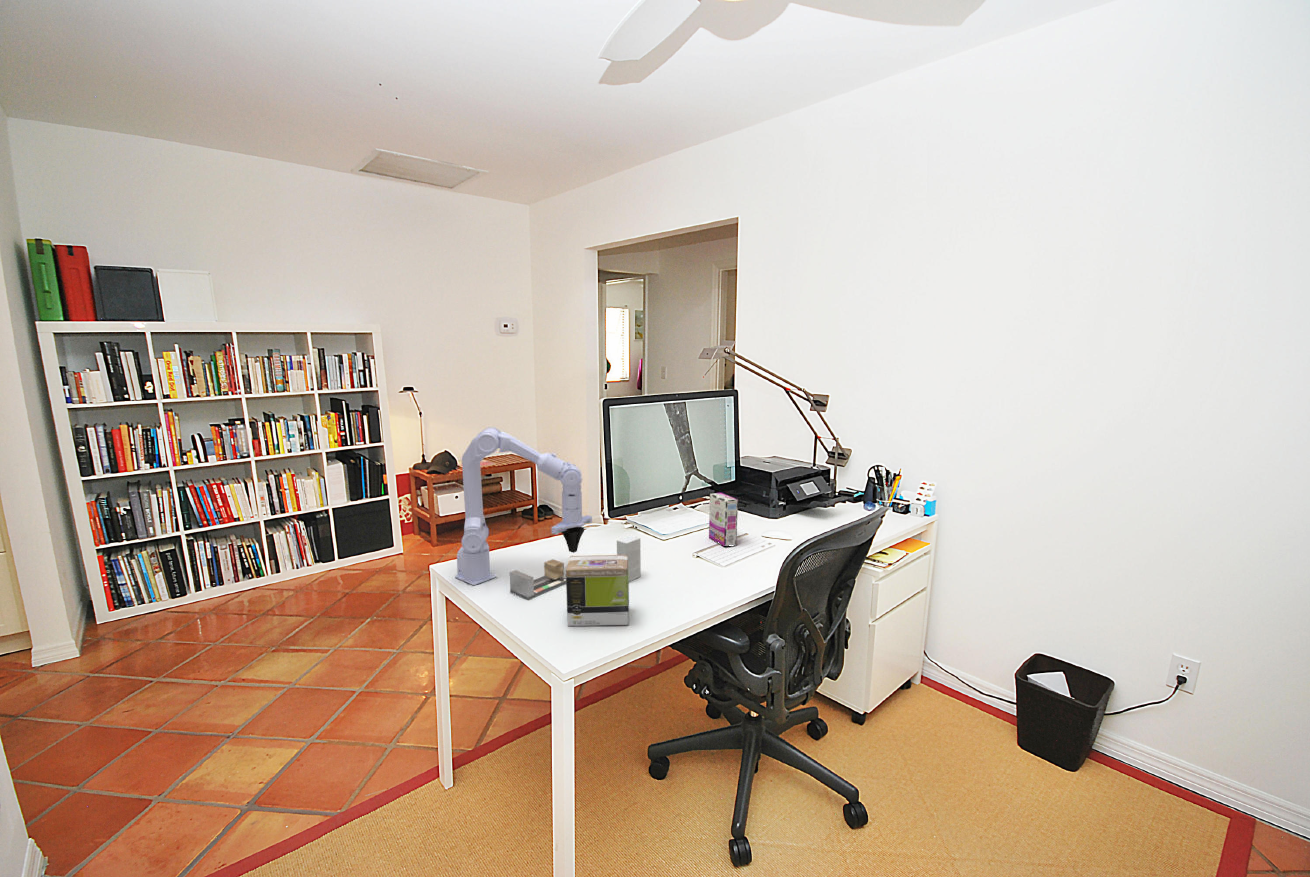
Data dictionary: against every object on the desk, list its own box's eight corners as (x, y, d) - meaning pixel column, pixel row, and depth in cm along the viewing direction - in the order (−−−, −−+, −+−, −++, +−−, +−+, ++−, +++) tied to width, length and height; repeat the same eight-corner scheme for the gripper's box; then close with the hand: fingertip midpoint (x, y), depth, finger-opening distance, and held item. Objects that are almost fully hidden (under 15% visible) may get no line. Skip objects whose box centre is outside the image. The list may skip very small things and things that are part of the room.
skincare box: (630, 573, 170) (630, 534, 168) (641, 576, 167) (641, 537, 165) (616, 579, 165) (616, 539, 163) (627, 583, 163) (627, 543, 161)
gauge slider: (554, 573, 166) (553, 558, 165) (568, 578, 162) (568, 563, 162) (544, 576, 163) (544, 562, 163) (559, 582, 160) (558, 567, 159)
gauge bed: (551, 575, 168) (551, 556, 167) (569, 582, 163) (569, 562, 162) (510, 592, 156) (509, 572, 155) (528, 600, 151) (527, 579, 150)
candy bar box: (737, 546, 193) (738, 499, 191) (724, 548, 191) (726, 501, 189) (720, 536, 203) (721, 491, 201) (708, 538, 201) (709, 493, 199)
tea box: (629, 607, 148) (629, 553, 145) (628, 626, 138) (628, 568, 135) (571, 608, 147) (570, 553, 145) (566, 627, 137) (565, 569, 135)
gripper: (562, 515, 158) (564, 561, 160) (599, 504, 169) (599, 547, 171) (545, 510, 162) (547, 556, 164) (582, 500, 173) (583, 542, 176)
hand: (572, 551), depth 168 cm, fingers closed
